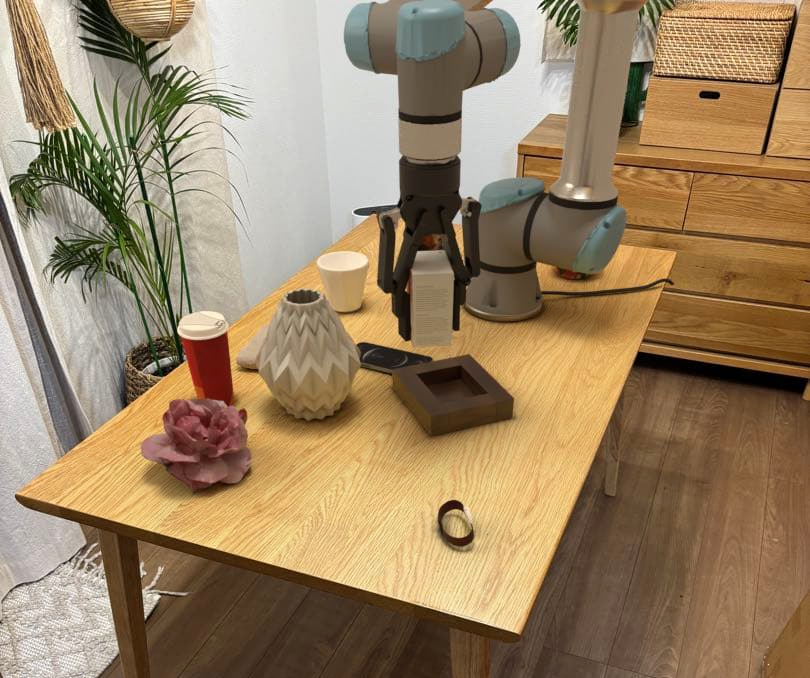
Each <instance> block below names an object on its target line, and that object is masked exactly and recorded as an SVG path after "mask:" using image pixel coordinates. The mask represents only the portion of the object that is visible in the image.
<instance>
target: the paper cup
mask: <svg viewBox="0 0 810 678" xmlns="http://www.w3.org/2000/svg"><path fill="white" fill-rule="evenodd" d="M229 327H230V326H229V322H227V321H226V319H225V316H223V314H222V313H219V312H217V311H209V310H201V311H196V312H193V313H192V312H191V313H188V314H186V315H185V316H183V317H181V318H180V320H179V322H178V326H177V327H176V329H177V334H178V335H179V336H180V339H181V342H182V346H183V350H184V354H185V357H186V361H187V365H188V368H189V369H188V370H189V373H190V376H191V379H192V383H193V386H194V387H193V388H194V391H195V394H196V399H208V398H209V399H211V400H218V401H224V403H225V404H226V405H227V406H228V407H229V406H230V405H231V406H232V405H233V403H234V401H235V400H234V399H235V397H234V385H233V374H232V365H231V356H230V343H229V335H228V330H229Z"/></svg>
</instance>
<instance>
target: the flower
mask: <svg viewBox="0 0 810 678" xmlns="http://www.w3.org/2000/svg"><path fill="white" fill-rule="evenodd" d="M247 421H248V411H247V409H246V408H245V407H242V408H241V409H239V410H238V409H237V408H236V406H234V405H232V404H231V405H230V406H229V407H228V406H227V405H226V404H225V403H224V401H218V400H211V399H209V398H208V399H198V398H197V397H195V398H193V399H191V400H188V399H185V398H182V399H181V398H176V399H173V400H171V401H170V402H169V403H168V408H167V410H166V411H165V412H164V413H163V415H162V423H163V430H164V433H158V434H153V435H150V436H148V437H146V438H145V439H144V440H143V441H142V442H141V443H140V450H141V451H140V455H141V456H142V457H143V458H145V459H146V460H147V461H148V462H153V463H156V464H161V465H163V466H164V467H165V470H166V472H167V474H169V475H171V476H172V477H174V478H176V479H177V480H179V481H181V482H184V483H185V484H186V485H187V486H188V487H189V488H190V489H192V490H196V489H206V488H208V487H210V486H212V485H213V484H214V483H218V482H221V483H225V484H229V485H235V484H236V483H240V481H241V480H242V478H243V477H244V476H245V474H246V473H247V471H248V470H249V469H250V468H251V461H252V452H251V450H250V449H249V447H248V446H247V443H248V437H249V436H248V435H249V434H248V430H247V428H246V424H247Z"/></svg>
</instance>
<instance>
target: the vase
mask: <svg viewBox="0 0 810 678" xmlns="http://www.w3.org/2000/svg"><path fill="white" fill-rule="evenodd" d="M269 323H270V324H269ZM269 323H268V324H269V328H268V332H267V335H266V337H265V339H264V340H263V342H262V344H261V347H260V349H259V352H258V354H257V357H256V359H255V363H256V365H257V367H258V369H257V370H258V376H260V378H261V379H262V380H263V382H265V384H266V386H267V388H268V389H269V391H270V393H271V395H272V396H273V397H274V398H275V399H276V400H277V401H278V403H279V404H280V405H281V406H282V407H283V408H285V409H286V412H287V414H288V415H294V418H295V420H296V419H305V420H306V421H308V422H309V421H311V420H313V419H317V420H324V418H325V417H328V416H334V413H335V411H338V410H340V409H341V403H344V401H345V399H346V397H347V396H348V394H349V393H350V391H351V390H352V387H353V384H354V381H355V379H356V375H357V373H358V372H359V370H360V369H361V367H362V366H361V363H360V360H359V359H360V355H361V352H360V350H359V349H358V347H357V346H356V344H357V343H356V342H355V341H354V339H353V338H352V336H351V335H350V333H349V332H348V331H347V330H346V328H345V326H344V324H343V322H342V319H341V318H340V316H339V314H338V312H336V311H335V310H334V309H332V307H331V305H330V304H329V302H328V299H327V297H326V293H322V292H321V290H319V289H318V290H314V288H312V287H311V288H307V289H305V288H303V287H301V288H299V289H291V290H290V292H284V293H283V296H281V297H280V302H278V304H277V308H276V311H275V312H274V313H273V315H271V317H270V321H269Z"/></svg>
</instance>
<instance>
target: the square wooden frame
mask: <svg viewBox="0 0 810 678" xmlns="http://www.w3.org/2000/svg"><path fill="white" fill-rule="evenodd" d="M391 381H392V382H391V383H392V384H391V385H392V389H393V391H394V392H395V393H396V395H397V396H398V397H399V398H400V399H401V401H402V402H403V403H404V405H405V406H406V407H407V408H408V410H409V411H410V412H411V413H412V415H413V416H414V417H415V419H416V420H417V421H418V422H419V423H420V425H421V426H422V427H423V429H424V430H425V431H426V432H427V433H428V435H429V436H430V437H435V436H438V435H443V434H447V433H452V432H456V431H460V430H465V429H468V428H474V427H477V426H483V425H487V424H491V423H495V422H501V421H505V420H509V419H512V418H513V416H514V406H515V397H514V396H513V395H512V394H511V393H510V392H509V391H508V390H506V389H505V388H504V387H503V386H502V385H501V383H500V382H498V381H497V379H496V378H494V377H493V376H492V375H491V374H490V372H488V371H487V370H486V369H485V368H484V367H483V366H482V365H481V364H480V363H479V361H477V360H476V359H475V358H474V357H473V356H472V355H471V354H470V353H467V354H463V355H458V356H453V357H448V358H441V359H437V360H433V361H432V362H427V363H422V364H417V365H412V366H407V367H402V368H397V369H392V375H391Z"/></svg>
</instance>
